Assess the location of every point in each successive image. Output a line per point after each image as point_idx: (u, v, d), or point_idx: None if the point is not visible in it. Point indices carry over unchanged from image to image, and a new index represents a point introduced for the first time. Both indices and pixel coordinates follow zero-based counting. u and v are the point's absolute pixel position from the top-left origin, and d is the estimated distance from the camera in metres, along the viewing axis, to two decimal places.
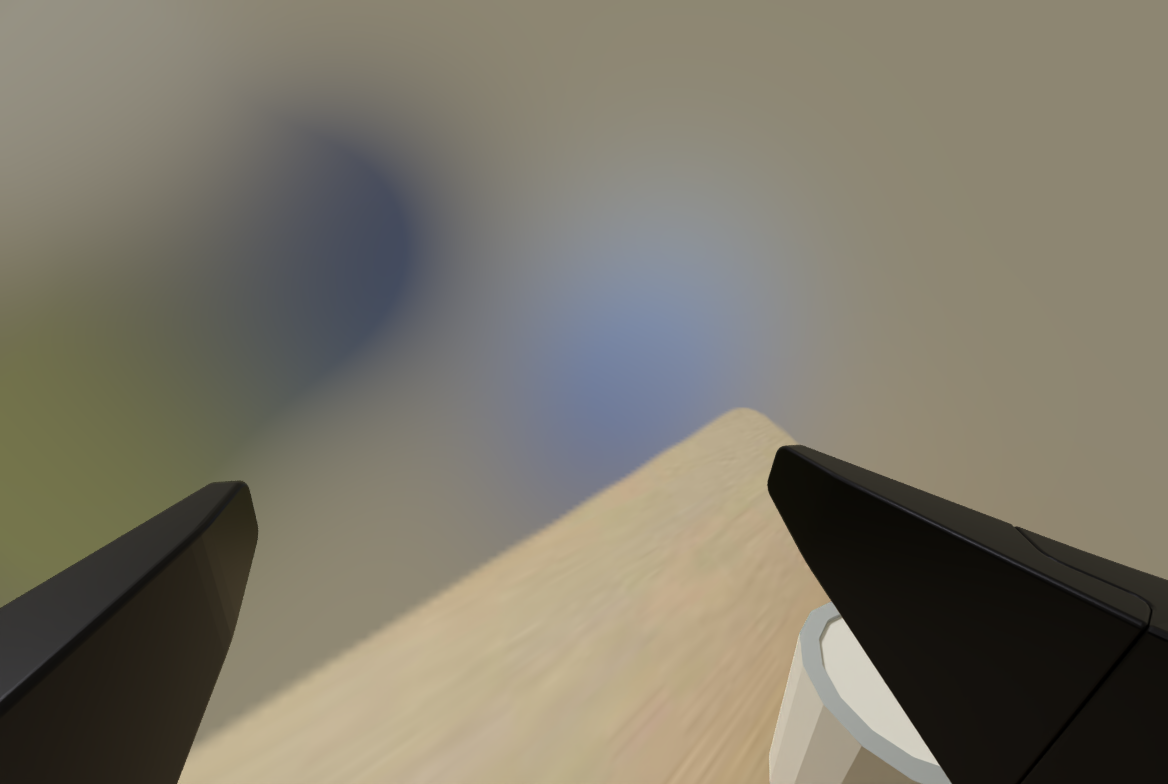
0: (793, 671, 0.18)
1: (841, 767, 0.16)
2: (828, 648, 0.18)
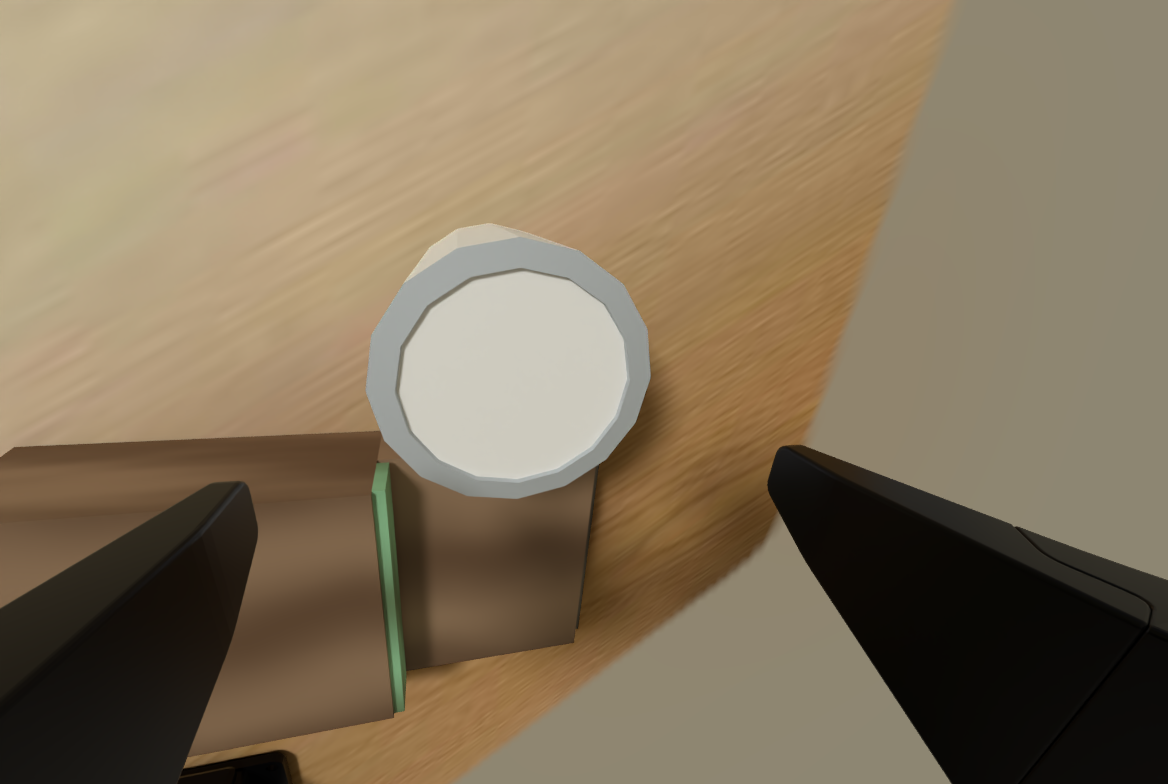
0: None
1: None
2: (435, 319, 0.11)
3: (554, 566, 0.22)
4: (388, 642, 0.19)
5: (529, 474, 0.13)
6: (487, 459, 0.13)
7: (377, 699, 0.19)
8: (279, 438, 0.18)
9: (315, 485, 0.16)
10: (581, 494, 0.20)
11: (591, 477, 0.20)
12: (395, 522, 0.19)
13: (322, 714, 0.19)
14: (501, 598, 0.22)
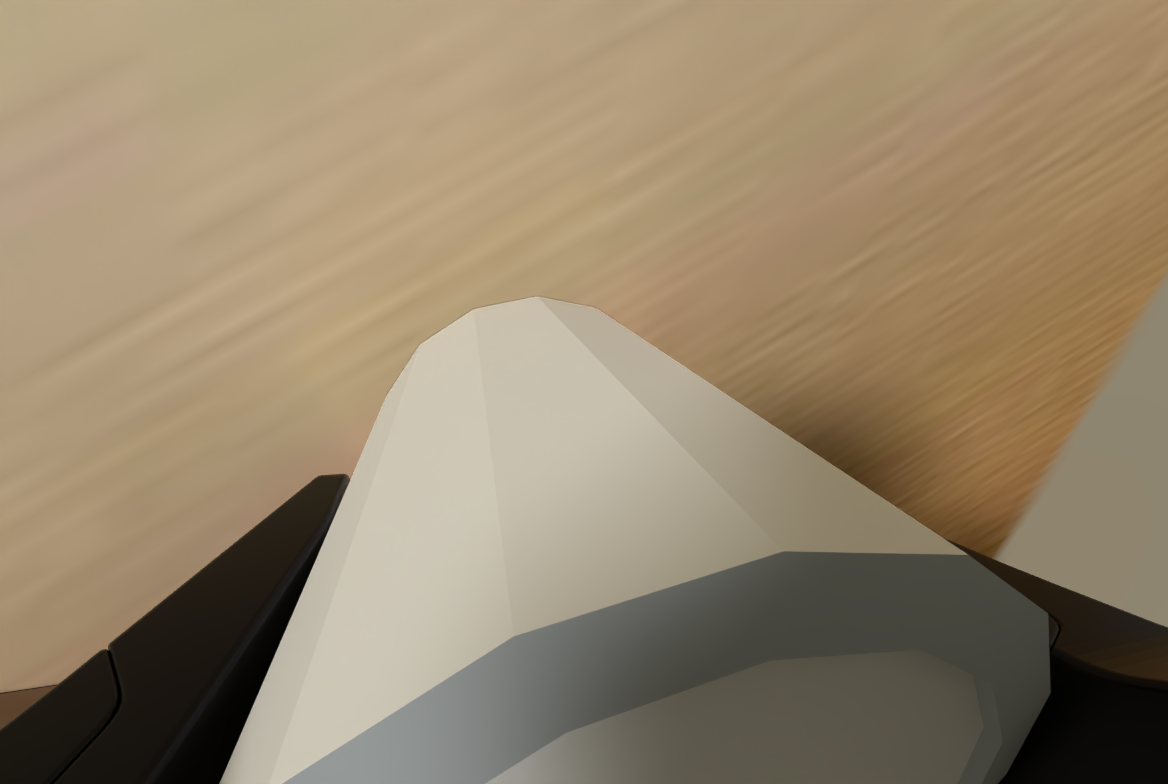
0: (305, 624, 0.04)
1: None
2: None
3: None
4: None
5: None
6: None
7: None
8: None
9: None
10: None
11: None
12: None
13: None
14: None
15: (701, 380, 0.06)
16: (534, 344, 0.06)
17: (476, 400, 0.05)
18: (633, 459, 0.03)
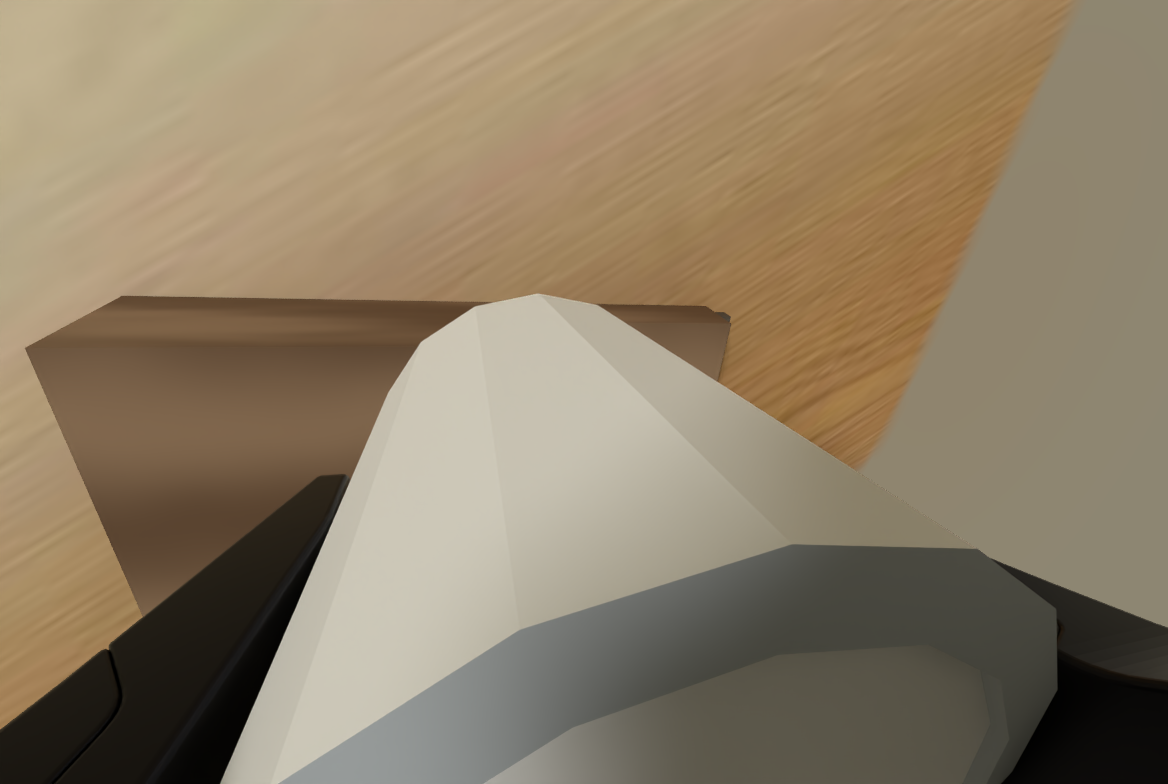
0: (307, 620, 0.04)
1: None
2: None
3: None
4: None
5: None
6: None
7: None
8: (395, 302, 0.16)
9: None
10: None
11: (719, 359, 0.18)
12: None
13: None
14: None
15: (704, 376, 0.06)
16: (536, 340, 0.06)
17: (478, 396, 0.05)
18: (638, 453, 0.03)
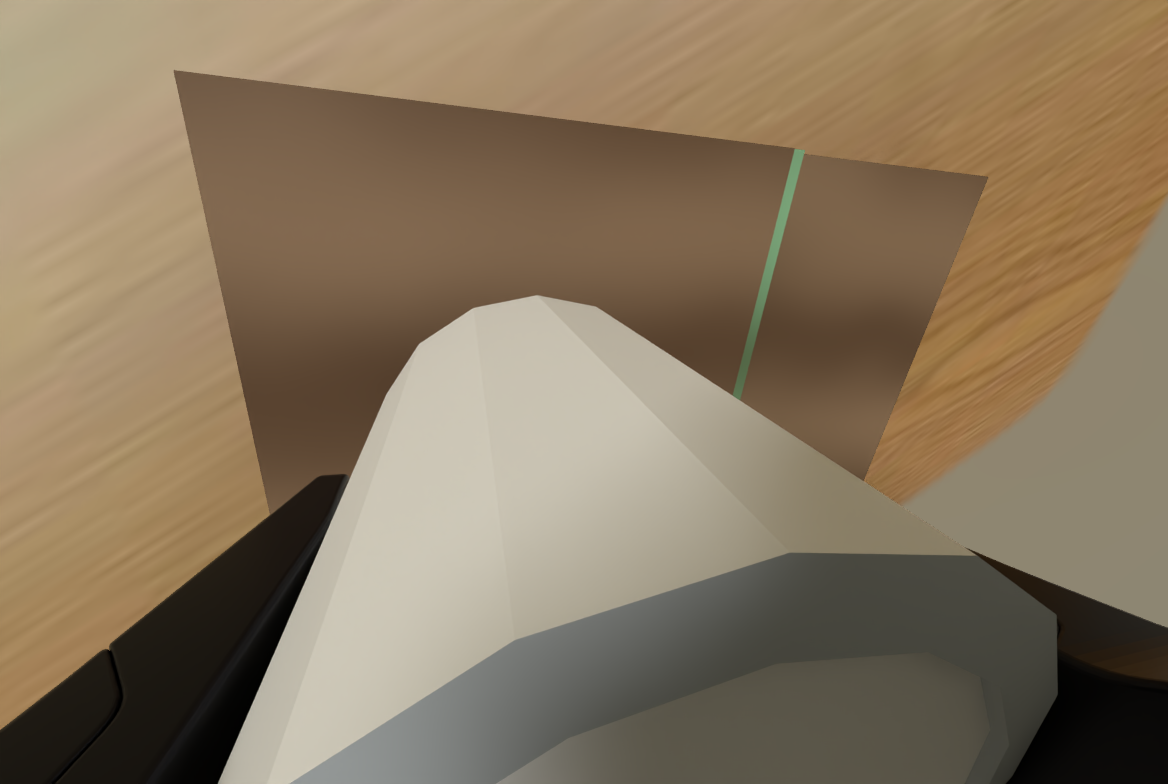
0: (303, 626, 0.04)
1: None
2: None
3: (878, 367, 0.17)
4: None
5: None
6: None
7: None
8: None
9: None
10: (944, 254, 0.15)
11: (964, 227, 0.15)
12: None
13: None
14: (809, 408, 0.17)
15: (703, 379, 0.05)
16: (534, 343, 0.06)
17: (476, 399, 0.05)
18: (635, 459, 0.03)
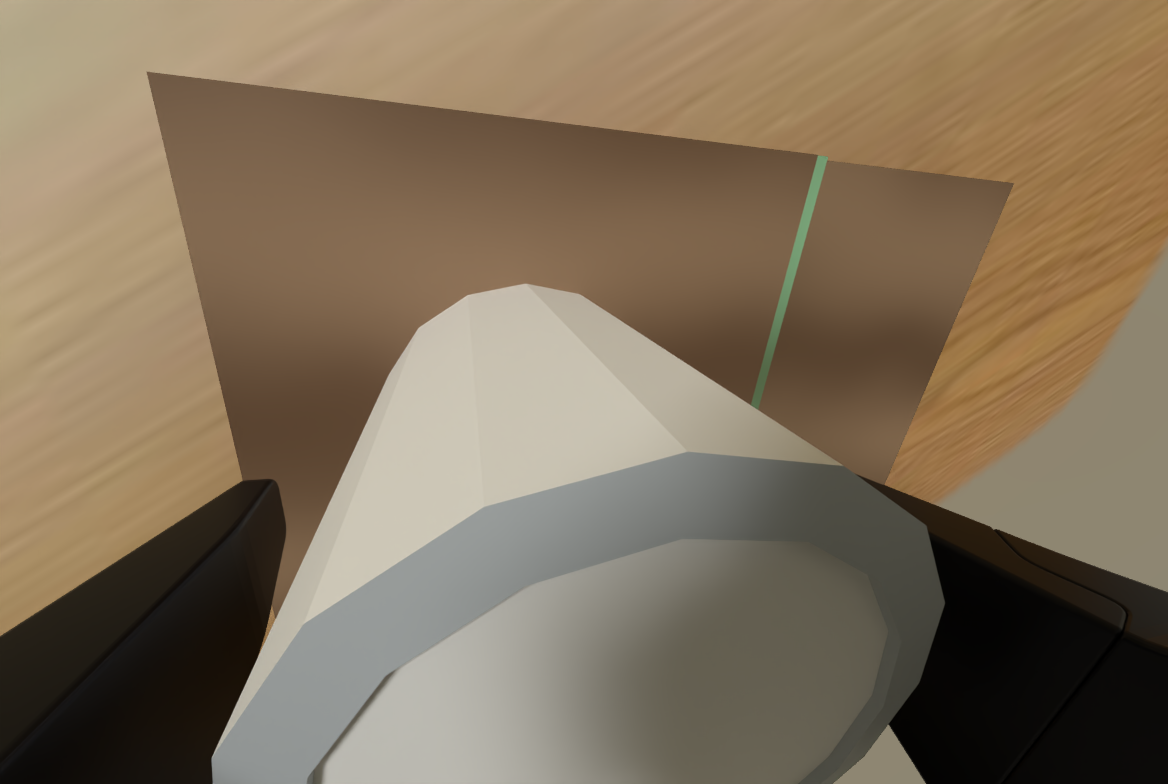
0: (324, 537, 0.04)
1: None
2: (416, 689, 0.04)
3: (897, 380, 0.16)
4: None
5: None
6: None
7: None
8: None
9: None
10: (966, 264, 0.15)
11: (988, 236, 0.14)
12: None
13: None
14: (824, 423, 0.16)
15: (663, 350, 0.06)
16: (519, 321, 0.07)
17: (466, 365, 0.06)
18: (588, 400, 0.04)
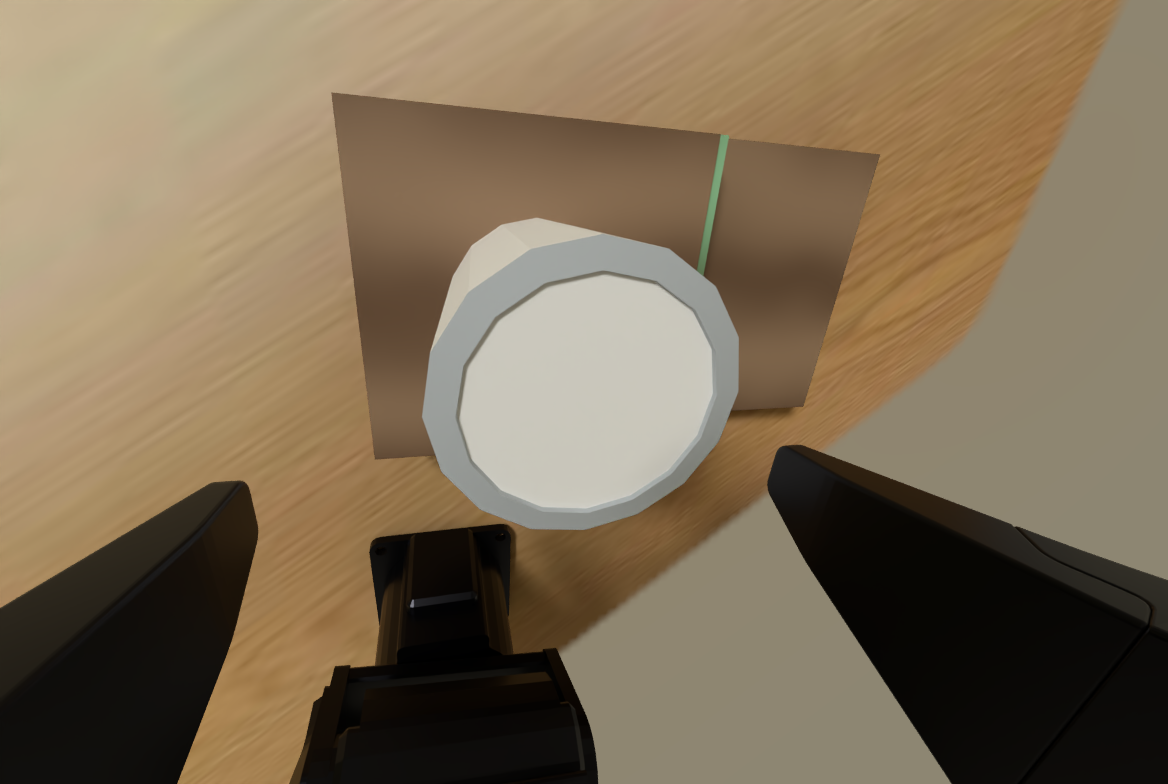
0: (456, 298, 0.10)
1: None
2: (503, 333, 0.09)
3: (808, 304, 0.22)
4: None
5: (600, 503, 0.12)
6: (554, 488, 0.11)
7: None
8: None
9: None
10: (852, 214, 0.20)
11: (865, 193, 0.20)
12: None
13: None
14: (755, 336, 0.22)
15: (612, 235, 0.12)
16: (535, 226, 0.13)
17: (511, 237, 0.11)
18: (569, 233, 0.10)
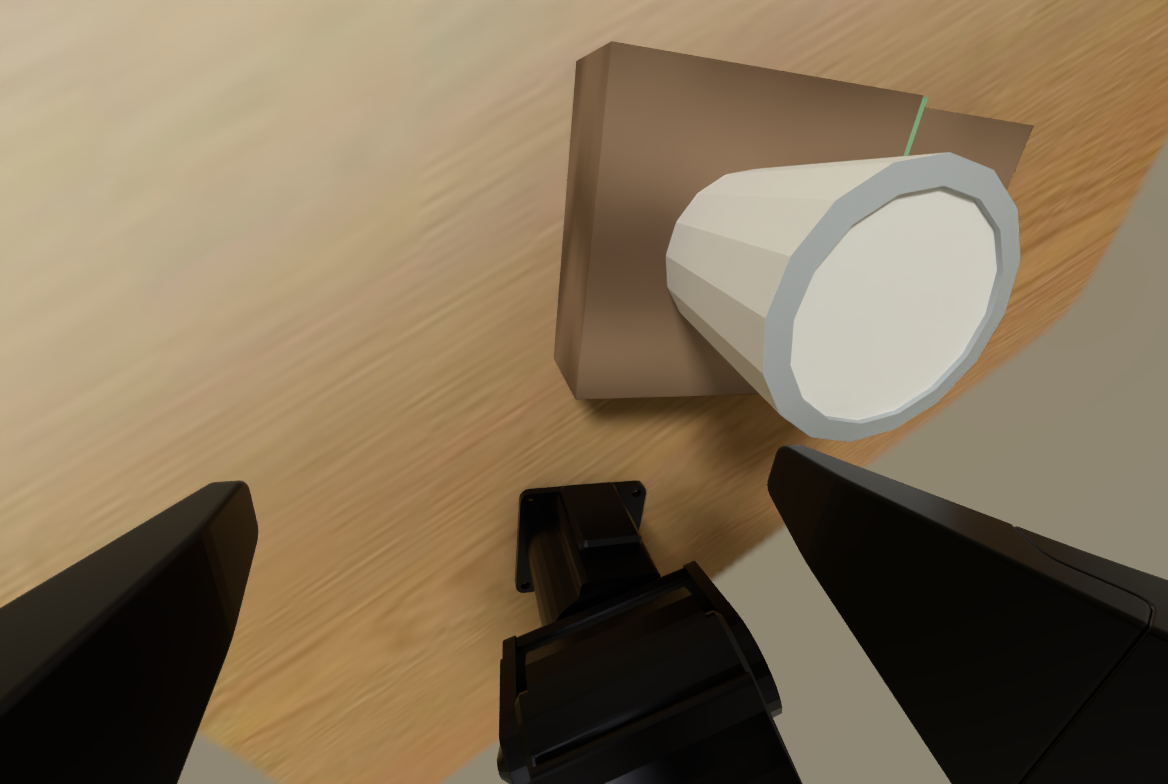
0: (781, 216, 0.11)
1: (733, 339, 0.13)
2: (850, 241, 0.10)
3: None
4: None
5: (871, 415, 0.13)
6: (840, 397, 0.12)
7: None
8: None
9: None
10: None
11: (1015, 162, 0.21)
12: None
13: None
14: None
15: None
16: (795, 166, 0.14)
17: (799, 171, 0.13)
18: (889, 158, 0.11)
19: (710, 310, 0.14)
